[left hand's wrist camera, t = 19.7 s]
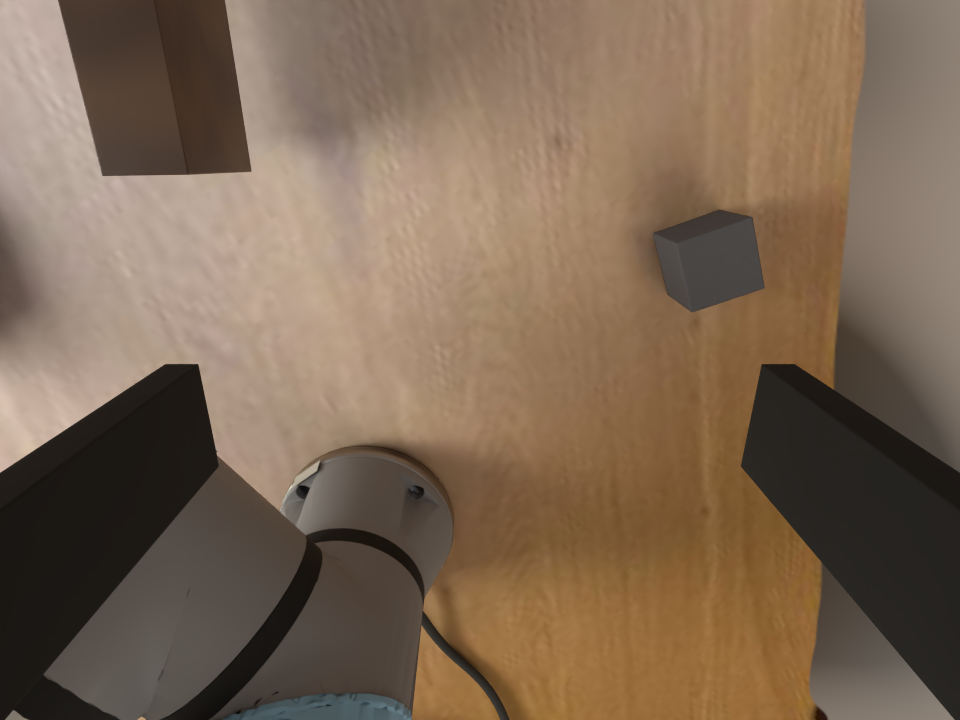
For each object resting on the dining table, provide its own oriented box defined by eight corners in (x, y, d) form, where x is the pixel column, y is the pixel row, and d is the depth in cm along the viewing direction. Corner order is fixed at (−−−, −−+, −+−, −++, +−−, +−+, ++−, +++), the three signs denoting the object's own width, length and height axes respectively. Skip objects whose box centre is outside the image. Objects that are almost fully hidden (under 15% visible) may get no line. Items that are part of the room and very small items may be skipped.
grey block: (732, 273, 40) (765, 288, 36) (667, 295, 41) (691, 312, 36) (719, 209, 39) (752, 216, 34) (652, 233, 39) (676, 243, 35)
